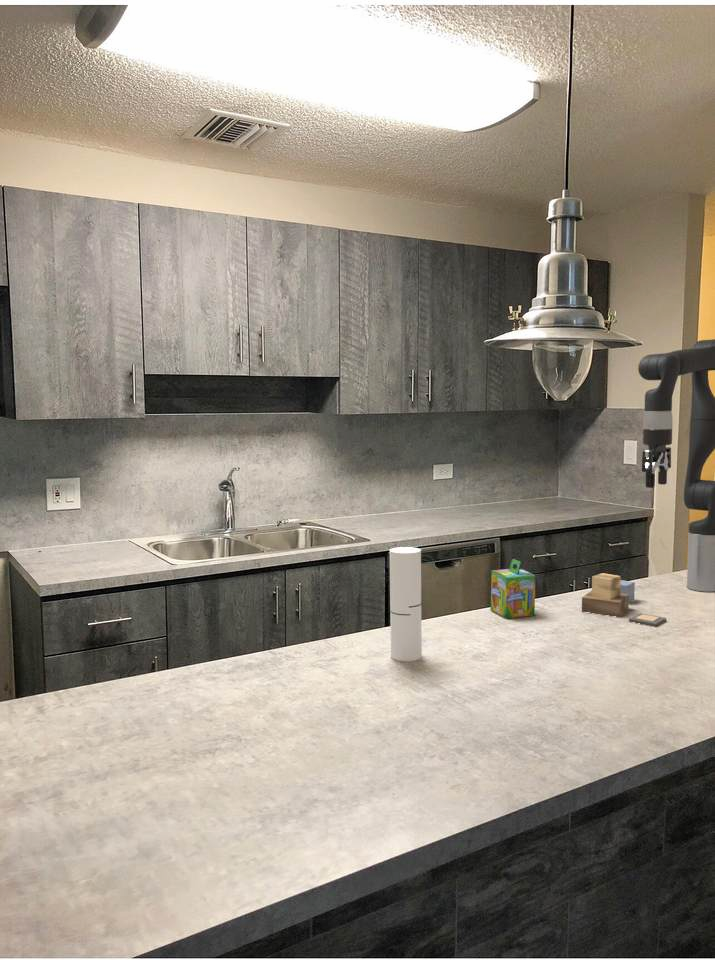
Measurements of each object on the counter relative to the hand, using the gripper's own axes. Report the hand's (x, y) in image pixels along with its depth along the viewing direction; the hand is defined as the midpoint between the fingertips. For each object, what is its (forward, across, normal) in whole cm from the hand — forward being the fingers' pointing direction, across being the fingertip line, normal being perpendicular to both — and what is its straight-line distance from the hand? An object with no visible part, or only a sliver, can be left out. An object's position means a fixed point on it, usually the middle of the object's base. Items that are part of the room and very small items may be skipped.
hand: (656, 485), depth 212 cm
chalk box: (+34, +32, -26) cm, 54 cm away
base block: (+34, +13, -8) cm, 38 cm away
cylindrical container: (+34, +78, -26) cm, 89 cm away
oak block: (+30, +13, -8) cm, 34 cm away
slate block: (+34, +1, -9) cm, 35 cm away
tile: (+34, +16, +5) cm, 38 cm away
